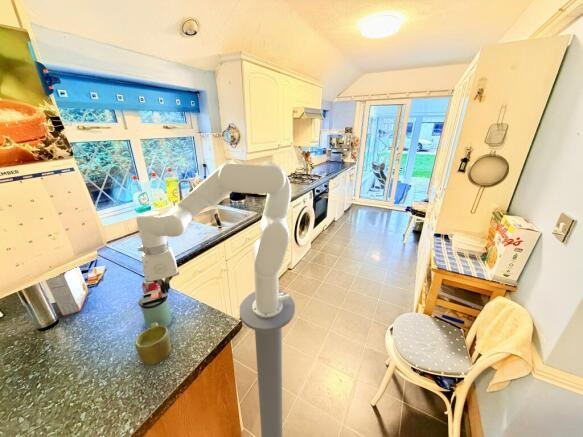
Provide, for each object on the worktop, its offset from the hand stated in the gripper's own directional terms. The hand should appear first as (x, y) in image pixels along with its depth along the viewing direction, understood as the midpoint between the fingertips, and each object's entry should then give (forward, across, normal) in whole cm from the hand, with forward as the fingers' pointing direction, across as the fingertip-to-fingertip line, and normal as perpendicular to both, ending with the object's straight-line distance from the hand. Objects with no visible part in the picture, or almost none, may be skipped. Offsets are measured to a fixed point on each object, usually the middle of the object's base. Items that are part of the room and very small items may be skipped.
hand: (166, 290), depth 87 cm
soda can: (+13, -5, +13) cm, 19 cm away
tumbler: (+13, -4, 0) cm, 14 cm away
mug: (+13, -5, -13) cm, 19 cm away
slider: (+1, -3, 0) cm, 4 cm away
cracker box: (+14, -35, +28) cm, 47 cm away
